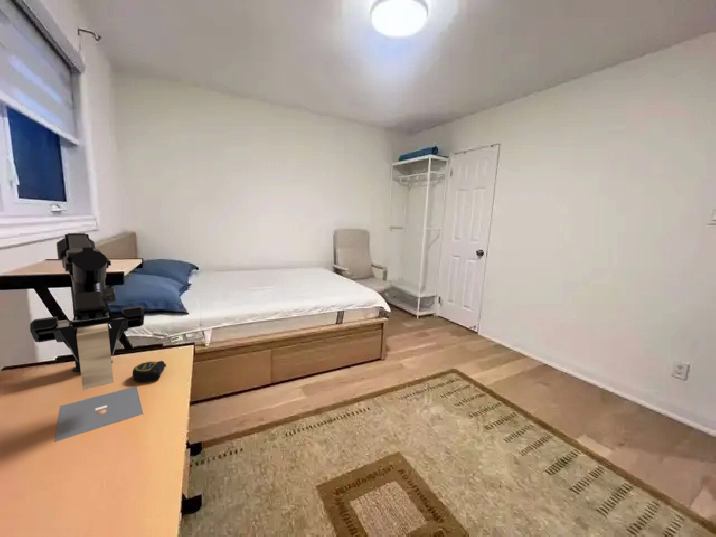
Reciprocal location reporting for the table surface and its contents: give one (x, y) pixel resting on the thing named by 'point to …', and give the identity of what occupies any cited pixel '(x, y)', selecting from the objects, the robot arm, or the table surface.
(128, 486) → the table surface
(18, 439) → the table surface
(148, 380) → the tape measure
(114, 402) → the slate tile
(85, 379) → the birch block
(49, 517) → the table surface
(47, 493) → the table surface
